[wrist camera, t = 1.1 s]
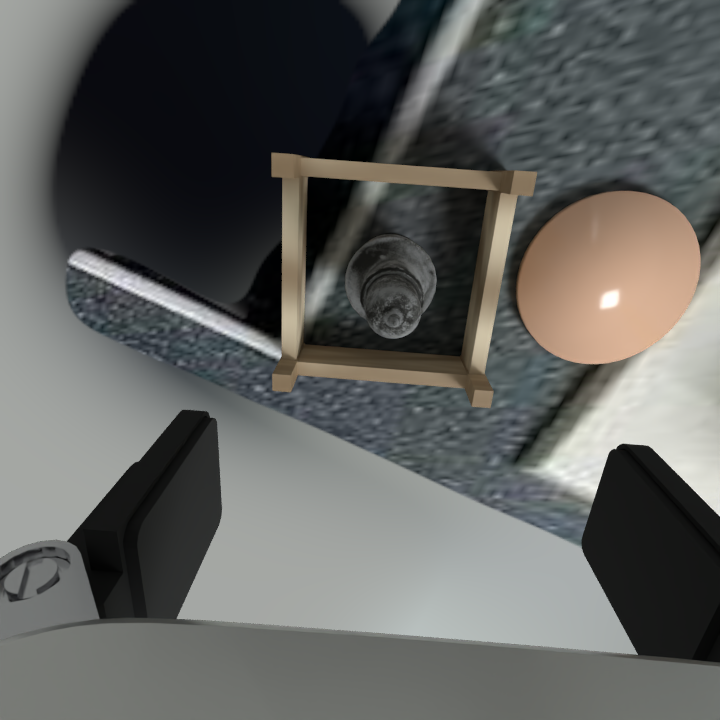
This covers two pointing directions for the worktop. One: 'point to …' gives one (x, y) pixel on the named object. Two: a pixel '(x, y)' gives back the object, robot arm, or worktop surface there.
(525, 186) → the frame
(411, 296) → the dark chess piece
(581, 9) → the worktop surface
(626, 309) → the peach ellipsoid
